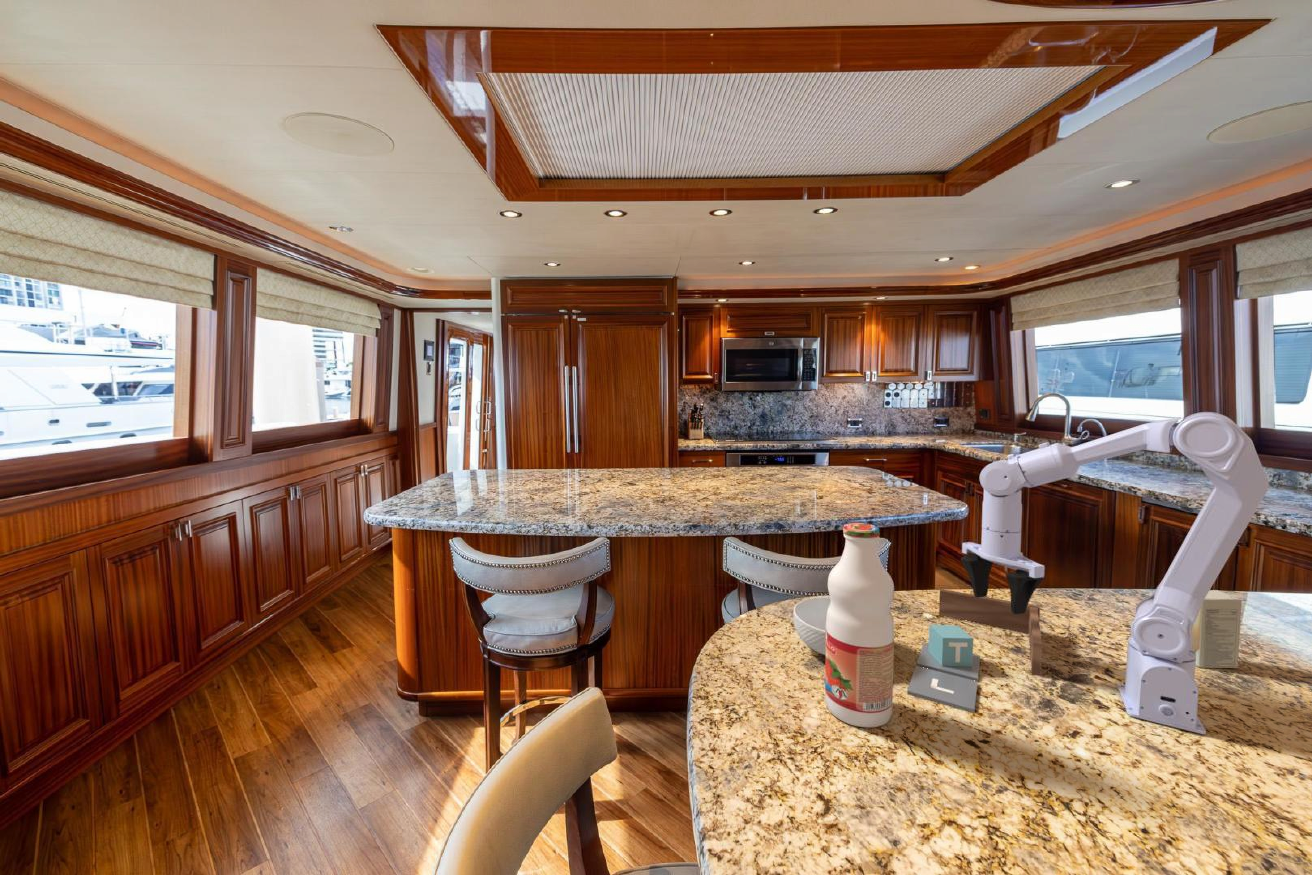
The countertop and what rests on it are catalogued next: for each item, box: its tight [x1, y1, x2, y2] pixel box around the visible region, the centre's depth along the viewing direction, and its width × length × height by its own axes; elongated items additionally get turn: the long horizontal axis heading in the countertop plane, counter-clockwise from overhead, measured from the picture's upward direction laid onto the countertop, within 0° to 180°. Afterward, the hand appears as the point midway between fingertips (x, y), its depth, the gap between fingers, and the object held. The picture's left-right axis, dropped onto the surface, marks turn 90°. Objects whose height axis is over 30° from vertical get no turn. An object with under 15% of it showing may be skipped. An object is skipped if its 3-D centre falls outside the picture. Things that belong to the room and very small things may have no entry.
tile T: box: [916, 642, 981, 683], centre depth 90 cm, size 9×9×1 cm
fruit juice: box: [824, 522, 895, 729], centre depth 76 cm, size 9×9×28 cm
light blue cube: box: [928, 624, 974, 667], centre depth 90 cm, size 5×5×5 cm
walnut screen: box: [938, 588, 1043, 677], centre depth 97 cm, size 19×17×6 cm
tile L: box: [906, 665, 978, 714], centre depth 82 cm, size 9×9×1 cm
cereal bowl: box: [792, 595, 831, 656], centre depth 95 cm, size 17×17×7 cm
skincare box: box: [1192, 589, 1242, 669], centre depth 89 cm, size 6×4×12 cm
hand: (998, 604), depth 91 cm, fingers open, 7 cm apart
